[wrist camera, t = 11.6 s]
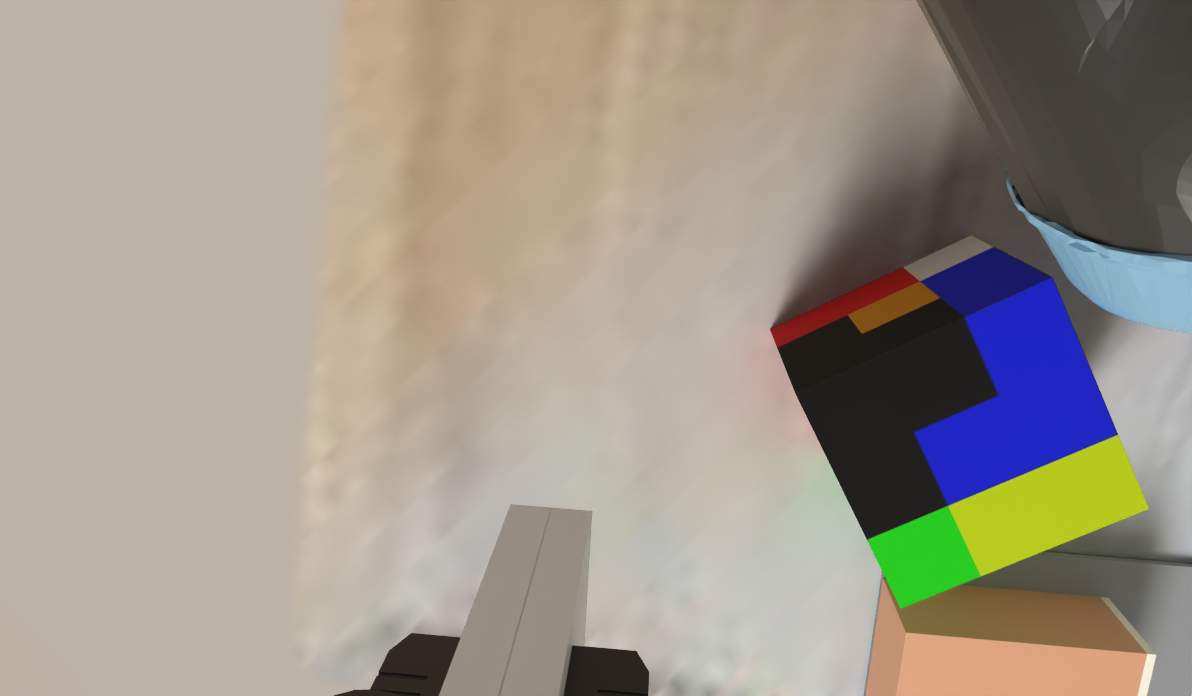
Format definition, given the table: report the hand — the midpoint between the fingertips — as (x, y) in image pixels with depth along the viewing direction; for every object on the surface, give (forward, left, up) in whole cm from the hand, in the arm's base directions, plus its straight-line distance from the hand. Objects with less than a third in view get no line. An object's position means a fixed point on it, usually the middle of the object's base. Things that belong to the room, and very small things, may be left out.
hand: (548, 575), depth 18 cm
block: (+18, +25, -27) cm, 41 cm away
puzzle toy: (+4, +14, -30) cm, 33 cm away
